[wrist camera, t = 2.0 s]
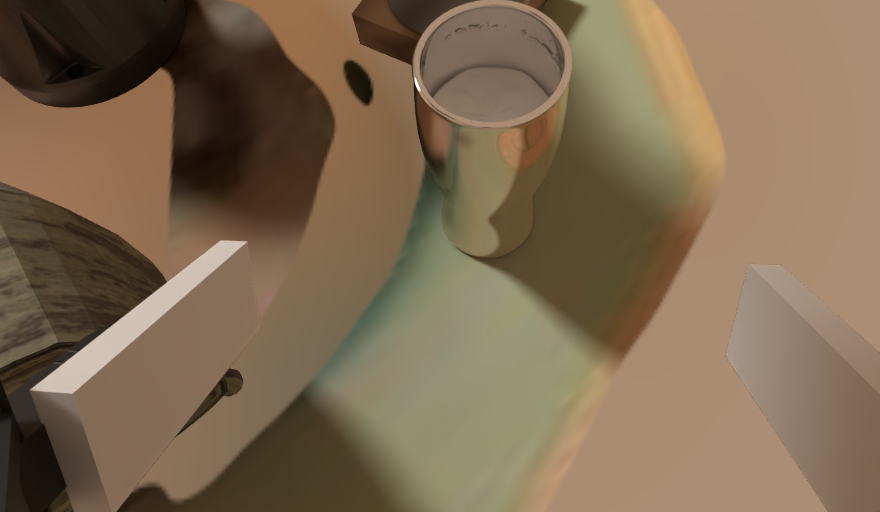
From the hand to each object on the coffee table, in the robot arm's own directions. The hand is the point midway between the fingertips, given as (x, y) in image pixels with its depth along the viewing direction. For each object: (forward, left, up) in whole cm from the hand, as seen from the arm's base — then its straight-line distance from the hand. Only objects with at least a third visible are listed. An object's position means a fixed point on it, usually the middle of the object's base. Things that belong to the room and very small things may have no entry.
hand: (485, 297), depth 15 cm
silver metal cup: (-5, +10, -19) cm, 22 cm away
